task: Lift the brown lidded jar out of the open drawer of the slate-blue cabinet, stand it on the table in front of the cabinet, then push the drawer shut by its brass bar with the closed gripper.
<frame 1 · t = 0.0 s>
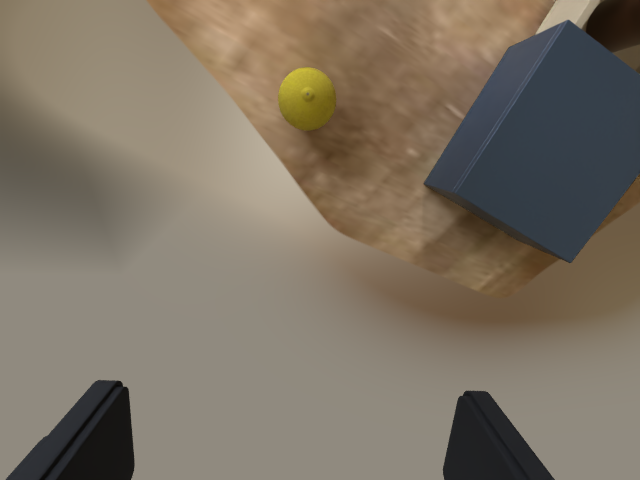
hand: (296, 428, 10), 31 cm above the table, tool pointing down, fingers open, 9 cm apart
lemon: (306, 105, 37), on the table
brown lidded jar: (609, 26, 34), point 2 cm above the table, touching drawer
cabinet: (514, 151, 39), on the table
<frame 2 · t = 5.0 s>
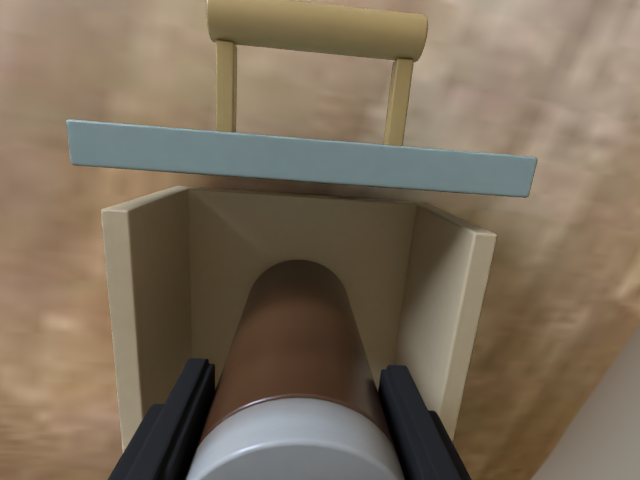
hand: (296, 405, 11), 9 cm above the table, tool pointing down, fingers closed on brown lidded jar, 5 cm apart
drawer: (301, 280, 14), point 4 cm above the table, slide at 12.5 cm, touching brown lidded jar
brown lidded jar: (298, 306, 17), point 2 cm above the table, touching drawer, gripper
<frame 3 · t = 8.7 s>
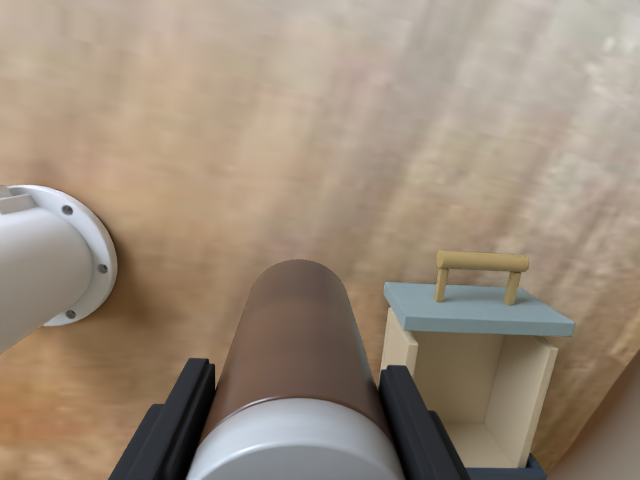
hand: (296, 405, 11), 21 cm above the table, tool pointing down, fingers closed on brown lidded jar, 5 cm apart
drawer: (459, 358, 30), point 4 cm above the table, slide at 12.5 cm
brown lidded jar: (298, 306, 17), point 14 cm above the table, touching gripper
cabinet: (417, 462, 38), on the table
when the fingers open (7 cm above the table, at t = 12.4 s): brown lidded jar stays where it is, on the table.
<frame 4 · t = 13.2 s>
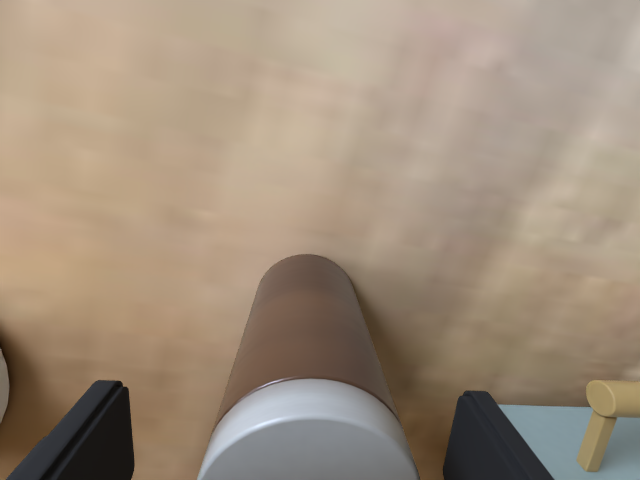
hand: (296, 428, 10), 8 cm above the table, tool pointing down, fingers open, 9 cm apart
brown lidded jar: (305, 300, 17), on the table
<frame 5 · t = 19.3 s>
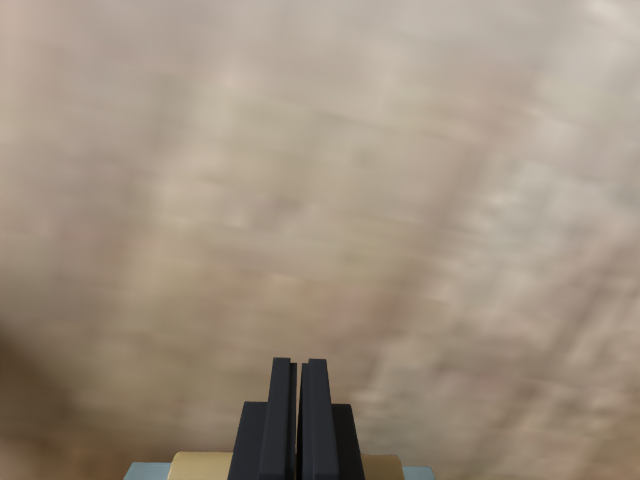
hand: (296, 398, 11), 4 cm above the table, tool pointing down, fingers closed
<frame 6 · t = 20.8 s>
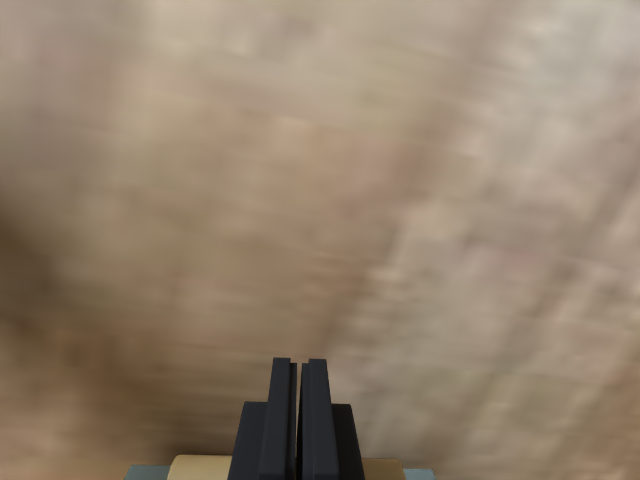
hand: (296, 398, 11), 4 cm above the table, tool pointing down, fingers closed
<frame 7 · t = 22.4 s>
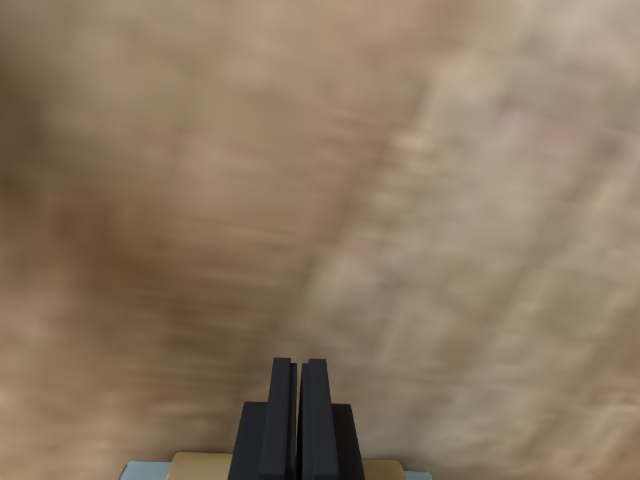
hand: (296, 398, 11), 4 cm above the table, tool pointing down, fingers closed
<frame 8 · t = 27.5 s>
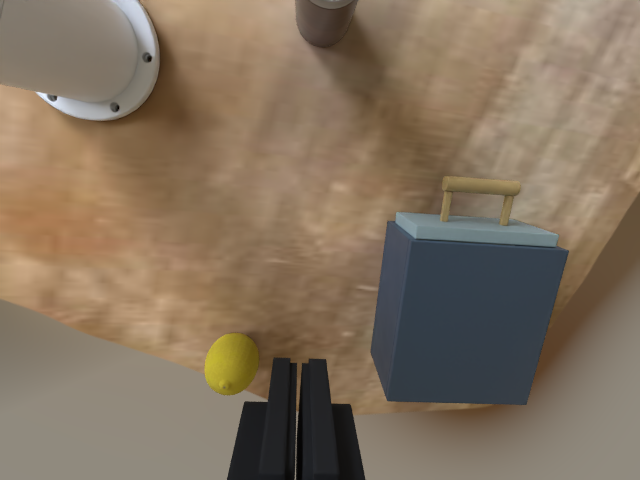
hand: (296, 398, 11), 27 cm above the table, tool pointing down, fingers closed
drawer: (461, 275, 35), point 4 cm above the table, slide at 0.0 cm, touching cabinet
lemon: (239, 340, 41), on the table
brown lidded jar: (322, 17, 32), on the table
cabinet: (438, 292, 40), on the table
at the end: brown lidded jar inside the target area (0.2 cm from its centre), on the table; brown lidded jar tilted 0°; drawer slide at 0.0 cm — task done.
